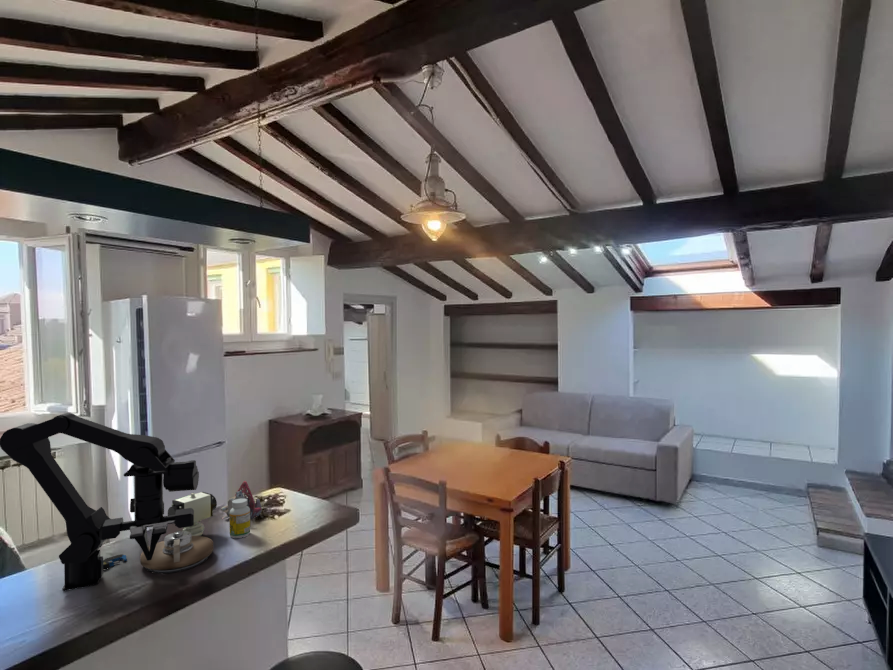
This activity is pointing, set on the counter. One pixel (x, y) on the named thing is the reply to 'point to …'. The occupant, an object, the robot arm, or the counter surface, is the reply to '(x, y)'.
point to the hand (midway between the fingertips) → (149, 559)
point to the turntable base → (177, 568)
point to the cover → (184, 542)
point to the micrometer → (113, 560)
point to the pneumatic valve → (195, 509)
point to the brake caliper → (254, 507)
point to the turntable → (178, 554)
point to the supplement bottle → (239, 519)
